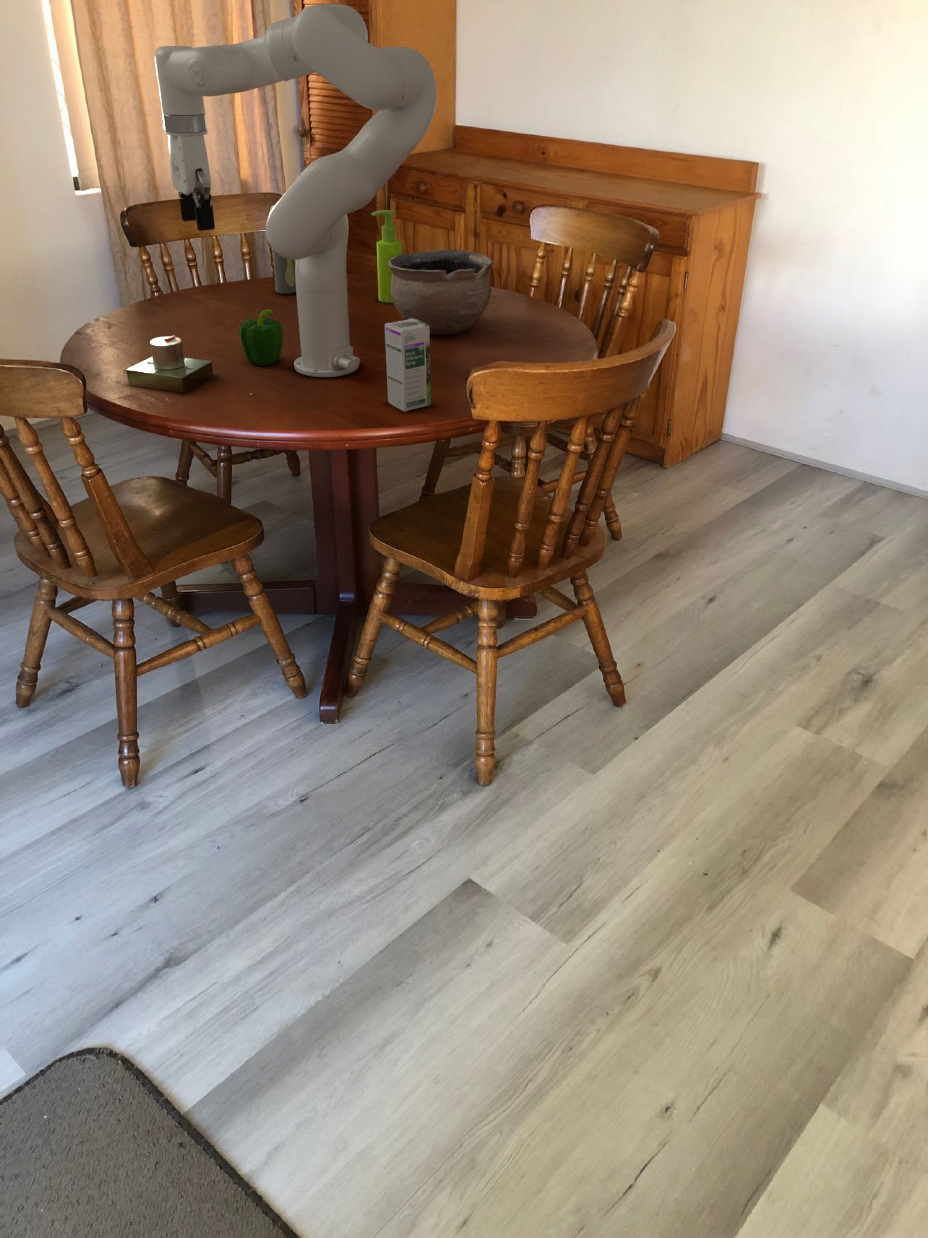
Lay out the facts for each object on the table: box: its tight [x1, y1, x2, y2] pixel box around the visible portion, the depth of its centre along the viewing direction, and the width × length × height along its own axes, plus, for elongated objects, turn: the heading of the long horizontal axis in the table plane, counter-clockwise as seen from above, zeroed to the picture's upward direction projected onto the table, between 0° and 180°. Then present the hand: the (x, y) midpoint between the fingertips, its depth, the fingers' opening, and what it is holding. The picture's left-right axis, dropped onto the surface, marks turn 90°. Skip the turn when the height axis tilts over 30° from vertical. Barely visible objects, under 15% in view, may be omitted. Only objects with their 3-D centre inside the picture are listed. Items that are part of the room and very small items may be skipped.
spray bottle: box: [269, 203, 296, 295], centre depth 231 cm, size 5×5×20 cm
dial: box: [149, 334, 185, 370], centre depth 180 cm, size 6×6×5 cm
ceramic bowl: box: [388, 249, 494, 336], centre depth 208 cm, size 22×22×15 cm
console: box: [125, 356, 214, 394], centre depth 182 cm, size 12×10×3 cm
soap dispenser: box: [370, 209, 403, 304], centre depth 227 cm, size 6×7×20 cm
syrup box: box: [384, 318, 432, 412], centre depth 170 cm, size 6×6×14 cm
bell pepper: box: [238, 309, 284, 366], centre depth 190 cm, size 8×8×10 cm
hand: (198, 224), depth 185 cm, fingers open, 9 cm apart
